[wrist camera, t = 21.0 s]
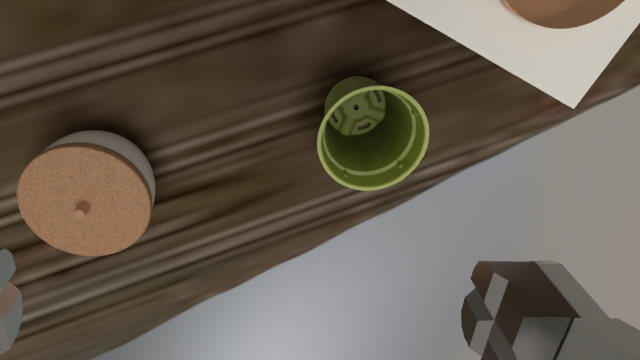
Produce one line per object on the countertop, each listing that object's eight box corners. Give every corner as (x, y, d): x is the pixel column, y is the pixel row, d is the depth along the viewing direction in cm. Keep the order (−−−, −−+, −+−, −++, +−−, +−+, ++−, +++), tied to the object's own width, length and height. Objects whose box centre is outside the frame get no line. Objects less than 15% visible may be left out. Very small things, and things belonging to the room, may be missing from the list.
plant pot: (416, 124, 51) (444, 160, 43) (332, 165, 52) (345, 208, 44) (380, 40, 47) (405, 65, 39) (290, 87, 48) (297, 120, 40)
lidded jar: (157, 112, 47) (136, 153, 39) (171, 210, 52) (155, 265, 44) (37, 114, 46) (-11, 157, 38) (63, 214, 51) (25, 271, 43)
